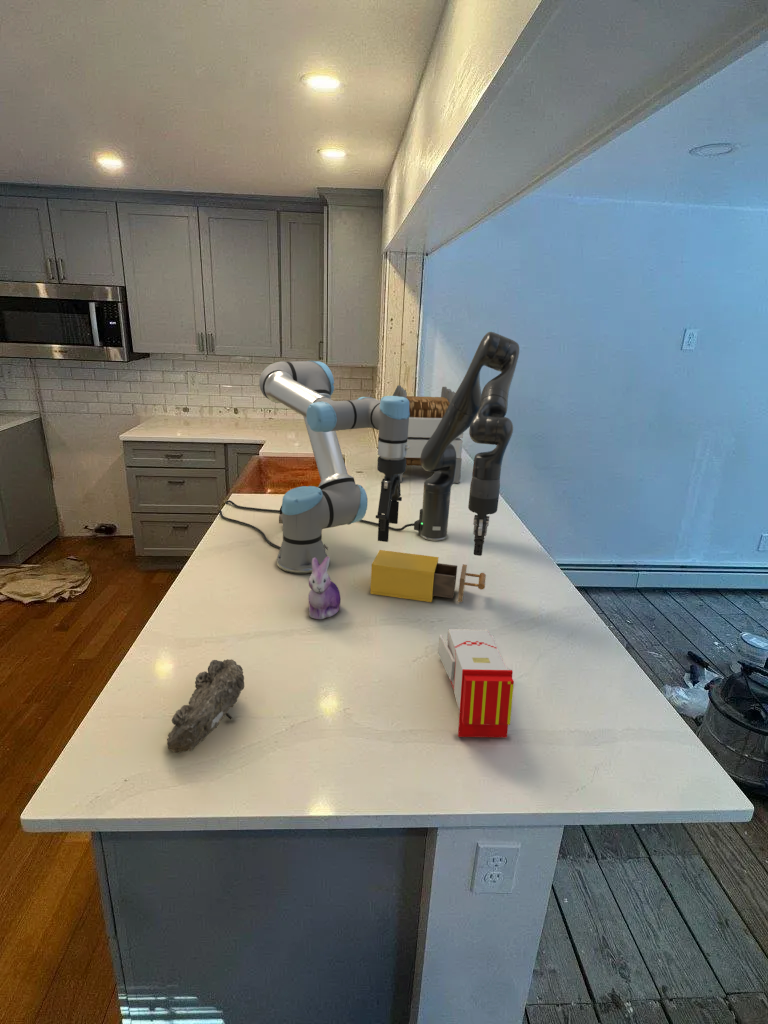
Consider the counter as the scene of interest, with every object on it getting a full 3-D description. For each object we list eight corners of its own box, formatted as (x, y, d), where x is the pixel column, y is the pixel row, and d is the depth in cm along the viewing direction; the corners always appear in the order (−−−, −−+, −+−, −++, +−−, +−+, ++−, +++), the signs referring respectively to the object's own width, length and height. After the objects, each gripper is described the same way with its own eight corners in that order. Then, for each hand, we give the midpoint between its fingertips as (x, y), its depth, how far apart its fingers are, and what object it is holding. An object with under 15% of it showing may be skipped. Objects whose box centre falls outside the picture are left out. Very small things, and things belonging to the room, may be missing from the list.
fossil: (192, 660, 117) (244, 628, 112) (224, 691, 120) (276, 661, 115) (142, 746, 98) (202, 712, 93) (182, 779, 101) (242, 748, 96)
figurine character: (297, 533, 199) (302, 514, 212) (296, 514, 196) (301, 496, 209) (278, 533, 199) (284, 514, 212) (277, 514, 195) (283, 495, 209)
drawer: (484, 589, 160) (486, 567, 158) (482, 605, 152) (485, 581, 150) (409, 579, 164) (411, 557, 162) (404, 594, 156) (405, 571, 153)
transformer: (382, 463, 289) (386, 382, 275) (445, 464, 293) (451, 384, 279) (390, 482, 257) (394, 392, 243) (460, 483, 261) (468, 394, 247)
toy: (488, 613, 130) (523, 677, 101) (484, 667, 133) (517, 744, 104) (435, 612, 130) (455, 676, 101) (432, 666, 133) (451, 743, 103)
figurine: (313, 624, 141) (313, 569, 135) (299, 605, 149) (299, 553, 144) (348, 616, 145) (349, 563, 140) (333, 598, 153) (333, 547, 148)
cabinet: (436, 585, 164) (438, 557, 161) (431, 602, 154) (434, 572, 151) (378, 577, 167) (379, 549, 164) (370, 593, 157) (371, 564, 154)
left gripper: (397, 470, 136) (392, 551, 144) (413, 447, 159) (408, 517, 167) (367, 467, 138) (363, 547, 145) (387, 444, 161) (383, 514, 168)
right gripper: (498, 502, 140) (491, 566, 146) (499, 487, 152) (492, 546, 158) (468, 499, 141) (461, 562, 147) (471, 484, 153) (465, 543, 159)
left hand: (388, 531), depth 156 cm, fingers open, 13 cm apart
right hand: (477, 554), depth 152 cm, fingers closed
